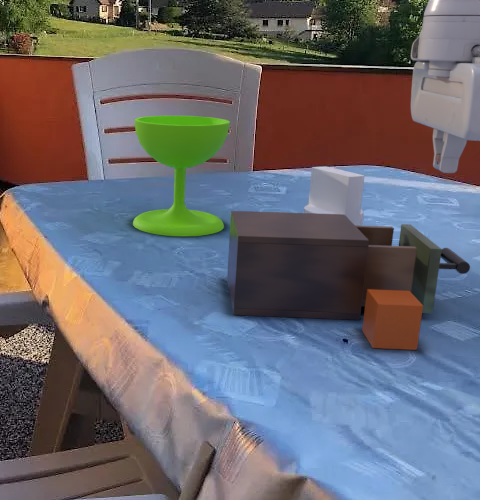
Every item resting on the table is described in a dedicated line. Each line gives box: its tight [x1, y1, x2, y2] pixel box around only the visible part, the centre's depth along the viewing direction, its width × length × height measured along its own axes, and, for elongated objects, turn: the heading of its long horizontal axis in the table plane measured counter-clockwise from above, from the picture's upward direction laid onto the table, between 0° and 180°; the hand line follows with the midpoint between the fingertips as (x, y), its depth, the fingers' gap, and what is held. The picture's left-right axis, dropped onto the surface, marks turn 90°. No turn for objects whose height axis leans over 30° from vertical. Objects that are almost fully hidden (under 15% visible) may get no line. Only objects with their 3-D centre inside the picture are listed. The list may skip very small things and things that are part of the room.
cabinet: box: [226, 210, 369, 321], centre depth 87 cm, size 15×13×10 cm
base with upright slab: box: [303, 166, 365, 226], centre depth 110 cm, size 9×9×12 cm
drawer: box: [355, 223, 471, 315], centre depth 86 cm, size 18×11×8 cm, turn 86°
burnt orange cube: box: [361, 289, 423, 351], centre depth 76 cm, size 5×5×5 cm
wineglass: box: [132, 115, 231, 237], centre depth 121 cm, size 16×16×18 cm
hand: (444, 171), depth 81 cm, fingers closed
